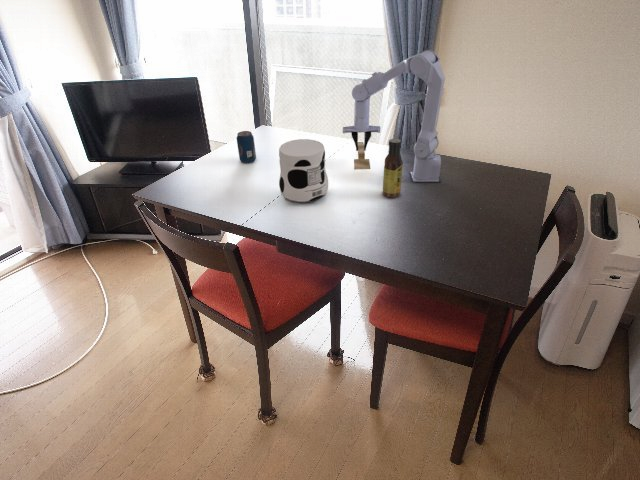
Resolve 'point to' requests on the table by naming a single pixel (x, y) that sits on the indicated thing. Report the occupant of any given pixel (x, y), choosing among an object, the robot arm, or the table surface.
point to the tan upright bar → (361, 158)
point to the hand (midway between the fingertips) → (360, 149)
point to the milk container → (302, 170)
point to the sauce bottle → (393, 170)
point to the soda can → (246, 147)
